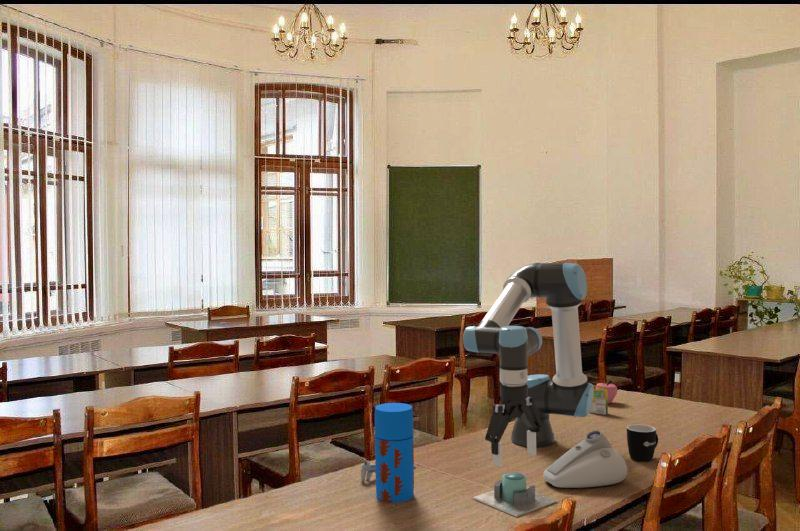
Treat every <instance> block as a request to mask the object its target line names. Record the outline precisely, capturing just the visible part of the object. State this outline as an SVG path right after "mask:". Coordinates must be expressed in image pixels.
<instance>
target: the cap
mask: <svg viewBox="0 0 800 531" xmlns="http://www.w3.org/2000/svg"><path fill="white" fill-rule="evenodd" d="M501 478H502V479H501V480H502V498H503V500H505V501H507V502H511V503H513V491H523V490H526V489H527V476H526V475H525V474H523V473H520V472H514V471H513V472H506V473H504V474H502V475H501Z"/></svg>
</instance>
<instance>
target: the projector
mask: <svg viewBox="0 0 800 531" xmlns="http://www.w3.org/2000/svg"><path fill="white" fill-rule="evenodd" d="M542 474H543V476H542V477H543V480H545V481H546V482H547V483H549V484H551V485H552V486H553V487H556V488H562V489H564V488H565V489H570V488H571V489H572V488H573V489H576V488H577V489H578V488H583V489H584V488H594V487H595V488H596V487H604V486H612V485H615V484H618V483H621V482H622V481H624V480H625V479H626V478H627V475H628V465H627V462H626V461H625V459H624V457H622V455H621V454H620V452H618V450H616V449H615V448H613V446H612V444H611V443H610V441H609V440H608V438H607V437H606V435H605V434H604V433H603V432H602V431H601V430H598V429H597V430H596V429H595V430H592V431H589V432H588V433H586V435H585V438H584V439H583V440H581V441H580V442H579V443H577V444H575V446H573V447H572V448H570V449H569V450H567V452H564V453H563V455H561V456H560V457H559V458H557V459H556V460H555V461H554V462H552V464H550V466H547V468H546V469H545V470H544V471H543V473H542Z"/></svg>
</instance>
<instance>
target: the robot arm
mask: <svg viewBox="0 0 800 531" xmlns="http://www.w3.org/2000/svg"><path fill="white" fill-rule="evenodd" d="M587 281H588V280H587V276H586V273H585V270H584V268H583V267H582V266H581V265H580V264H579V263H571V262H570V263H569V262H533V263H529V264H527V265H524V266H522V267H520V268H518V269H517V270H516V271H514V272H513V273H511V275H509V276H508V278H507V279H506V280H505V282H504V284H503V285H502V287H503V288H502V289H503V290H502V291H501V292H500V294H499V295H498V297H497V298H496V300H495V301H494V302H493V304H492V305H491V307H490V308H489V310H488V311H487V313H486V314H485V316H484V317H482V320H481V321H480V323H479V324H478V325H473V326H471V325H469V326H467V327H465V329H464V331H463V334H462V343H463V347H464V349H465V350H466V351H467V352H473V353H477V354H479V353H483V354H499V382H500V385H499V396H500V398H501V401H502V402H501V404H497V403H496V404H495V403H494V404H493V407H492V414H491V418H490V420H489V424H488V427H487V431H486V434H485V437H484V440H485V441H487V442H490V447H491V449H490V450H491V451H490V452H491V455H492V465H493V466H495V467H498V468H502V467H503V446H502V445H503V443H502V442H500V441H501V439H502V437H503V435H504V434H505V432H506V430H507V427H508V425H509V423H510V422H512V420H513V419H515V422H514V424H513V428H512V431H511V433H510V434H511V435H510V437H511V438H510V440H511V442H512V443H513V444H516V445H517V446H524V447H527V448H526V453H527V454H528V455H531V456H533V457H536V456H537V448H542V447H543V448H544V447H548V446H552V445H553V444H554V443H555V437H556V436H555V433H554V432H553V427H552V424H551V421H550V420H551V419H550V415H558V416H564V417H571V418H572V417H573V418H586V417H588V415H589V414H590V413H589V412H590V410H591V406H592V402H593V395H594V388H595V387H593V385H594V384H592V383H590V382H588V376H587V375H586V374H584V373H583V367H582V366H583V365H582V363H583V362H582V352H581V350H582V349H581V335H580V334H581V333H580V320H579V306H580V305H582V303H583V300H584V299H586V297H587V293H588V289H587V287H588V282H587ZM533 298H540V299H542V298H543V299H545V302H546V304H545V305H546V306H547V307H548V308H549V309H551V320H552V331H553V332H552V333H553V334H552V335H553V346H554V348H553V349H554V358H555V360H554V361H555V371H556V373H555V374H554V375H553V377H552V379H551V378H550V376H549V374H529V375H528V357H529V356H531V355H533V354H536V353H537V351H539V350H540V349H541V347H542V345H543V336H542V334H541V333H540V331H539V330H537V328H535V327H531V326H527V327H525V326H522V325H510V324H511V322H512V321H513V319H514V317H515V316H516V315H517V313H518V311H519V310H520V308H521V307H522V305H523V304H525V303H527V302H528V301H529V300H530V299H533Z"/></svg>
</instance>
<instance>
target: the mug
mask: <svg viewBox="0 0 800 531" xmlns="http://www.w3.org/2000/svg"><path fill="white" fill-rule="evenodd" d="M626 439H627V442H626V443H627V448H628V454H629V457H630V459H631V460H633V461H635V462H639V463H640V462H641V463H648V462H651V461H652V460H653V458H654V454H655V451H656V450H655V449H656V448H657V446H658V443H659V436H658V433H657V428H655V427H654V426H652V425H648V424H637V423H635V424H628V425H627V426H626Z"/></svg>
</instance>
